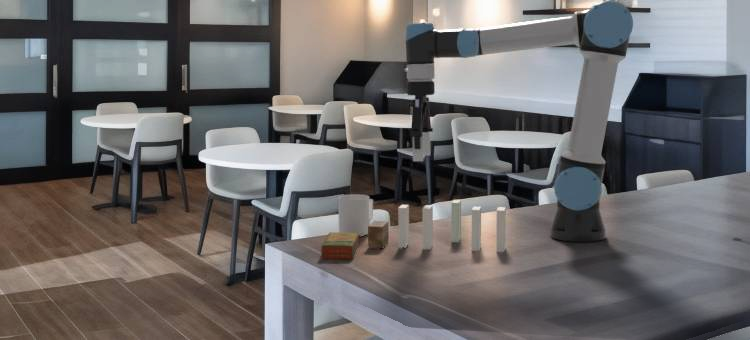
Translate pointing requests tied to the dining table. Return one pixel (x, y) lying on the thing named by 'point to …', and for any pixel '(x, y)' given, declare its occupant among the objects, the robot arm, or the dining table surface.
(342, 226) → the mug
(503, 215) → the domino
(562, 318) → the dining table surface
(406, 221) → the domino
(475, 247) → the domino
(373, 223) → the block
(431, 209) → the domino
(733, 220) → the dining table surface
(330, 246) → the carton
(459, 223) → the domino
